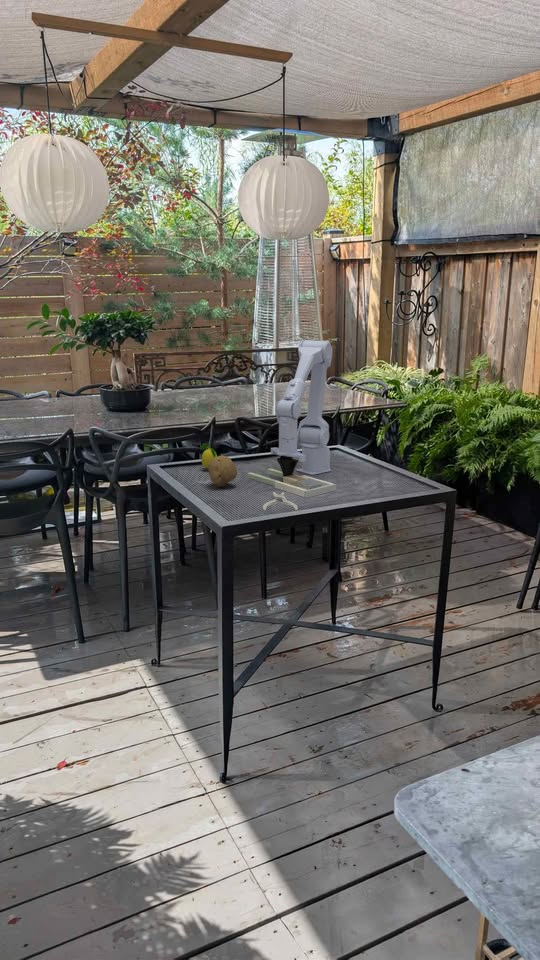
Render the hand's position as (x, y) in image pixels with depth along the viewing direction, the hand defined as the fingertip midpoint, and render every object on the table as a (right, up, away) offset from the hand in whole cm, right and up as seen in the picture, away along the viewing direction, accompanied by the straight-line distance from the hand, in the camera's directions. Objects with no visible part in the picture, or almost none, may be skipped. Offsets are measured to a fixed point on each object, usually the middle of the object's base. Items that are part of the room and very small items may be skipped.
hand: (287, 479), depth 224 cm
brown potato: (-21, -2, -3) cm, 21 cm away
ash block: (+2, -2, -3) cm, 4 cm away
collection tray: (+5, -3, -5) cm, 8 cm away
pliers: (-3, -7, -20) cm, 21 cm away
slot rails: (-4, 0, +6) cm, 7 cm away
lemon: (-26, +3, +17) cm, 32 cm away
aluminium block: (+6, -4, -7) cm, 10 cm away
